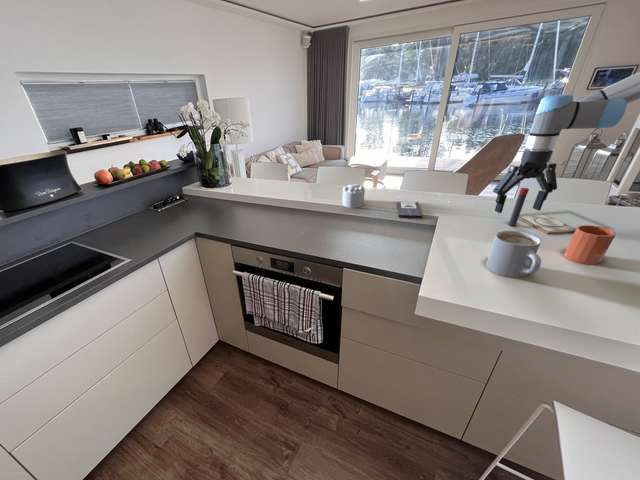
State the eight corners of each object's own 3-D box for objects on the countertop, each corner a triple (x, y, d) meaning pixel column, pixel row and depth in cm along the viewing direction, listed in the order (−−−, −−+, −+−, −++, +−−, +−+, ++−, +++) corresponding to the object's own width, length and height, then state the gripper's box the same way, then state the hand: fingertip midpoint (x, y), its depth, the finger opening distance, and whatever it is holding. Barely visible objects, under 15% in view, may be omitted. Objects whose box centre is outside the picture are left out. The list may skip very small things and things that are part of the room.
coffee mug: (479, 260, 89) (489, 231, 84) (515, 260, 87) (526, 230, 82) (503, 284, 78) (515, 252, 73) (544, 284, 76) (559, 251, 71)
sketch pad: (568, 213, 113) (569, 211, 112) (607, 230, 99) (608, 227, 98) (515, 217, 114) (516, 215, 113) (547, 234, 100) (548, 232, 100)
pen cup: (583, 251, 89) (597, 224, 84) (608, 263, 82) (624, 235, 77) (557, 252, 89) (569, 226, 85) (579, 265, 82) (594, 237, 78)
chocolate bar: (399, 215, 123) (397, 201, 138) (398, 217, 124) (397, 203, 138) (421, 215, 120) (417, 201, 135) (421, 217, 121) (417, 203, 135)
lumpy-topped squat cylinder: (363, 199, 148) (364, 182, 144) (364, 207, 137) (365, 190, 133) (342, 199, 150) (343, 183, 146) (342, 208, 140) (342, 190, 135)
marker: (513, 223, 109) (525, 187, 102) (517, 226, 107) (530, 189, 100) (506, 224, 109) (518, 187, 102) (510, 226, 107) (523, 189, 100)
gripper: (568, 144, 97) (544, 204, 108) (492, 150, 98) (476, 209, 109) (588, 147, 90) (560, 211, 101) (507, 154, 92) (488, 216, 103)
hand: (516, 210), depth 105 cm, fingers open, 13 cm apart
